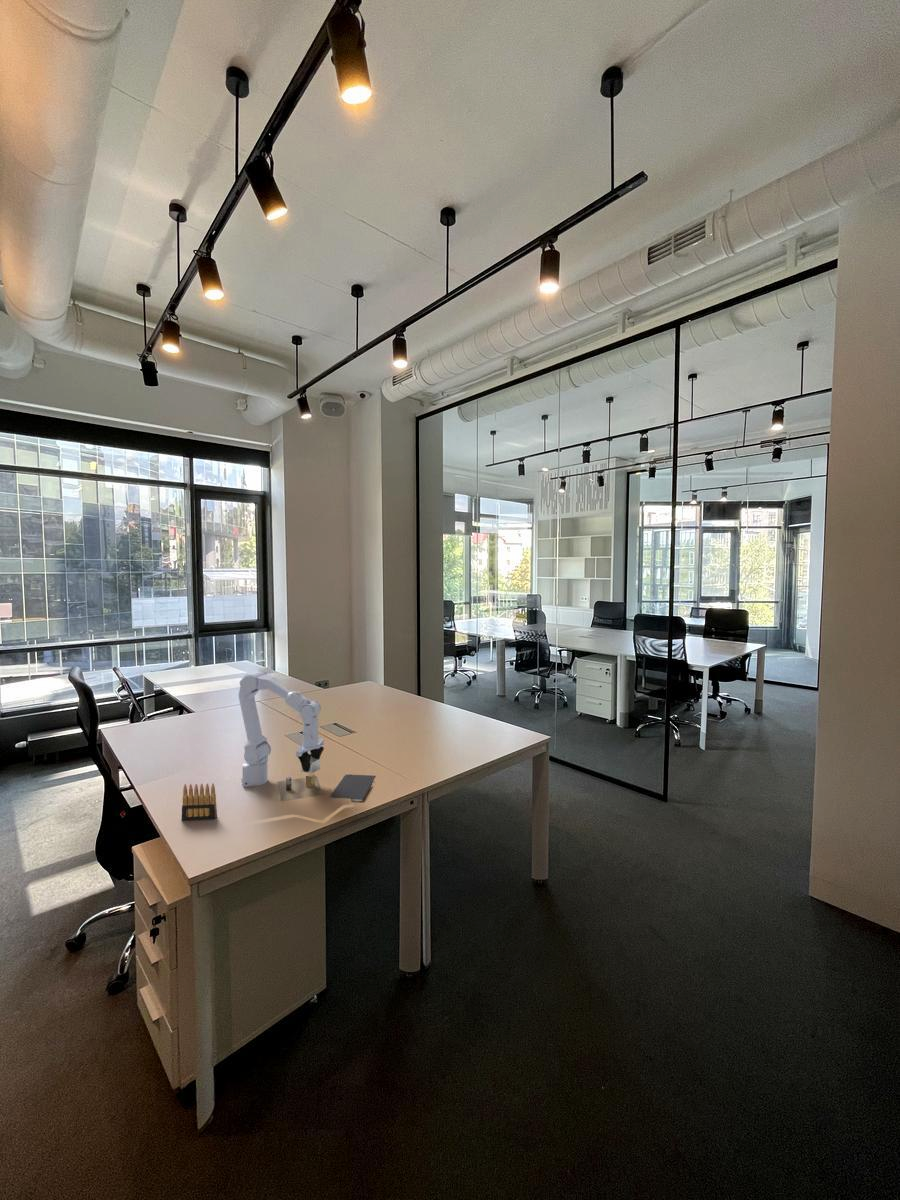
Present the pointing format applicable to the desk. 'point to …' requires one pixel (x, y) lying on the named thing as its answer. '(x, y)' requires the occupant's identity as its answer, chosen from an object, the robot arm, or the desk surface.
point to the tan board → (298, 789)
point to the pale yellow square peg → (310, 780)
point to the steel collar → (313, 765)
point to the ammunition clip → (199, 803)
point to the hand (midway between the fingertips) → (310, 768)
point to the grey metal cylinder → (288, 783)
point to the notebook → (353, 787)
